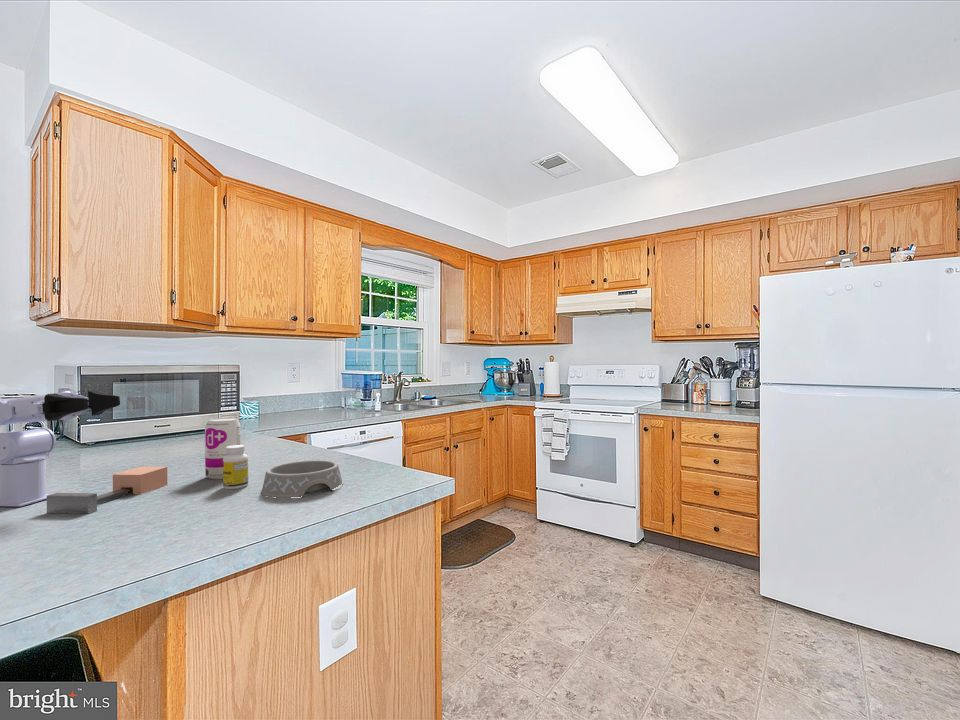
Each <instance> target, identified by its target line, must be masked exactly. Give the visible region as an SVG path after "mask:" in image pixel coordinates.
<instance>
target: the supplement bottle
mask: <svg viewBox="0 0 960 720" xmlns="http://www.w3.org/2000/svg"><path fill="white" fill-rule="evenodd" d="M245 450H246V447H245V445H244V444H241V445H232V446H227V447H226V453H227V456H225V457H224V458H223V479H222V481H223V482H222V485H223V487H222V488H223V489H226V490H238V489H241V488H242V489H243V488H245V487H247V486H249V456H248V455H247V454H246V453H245Z"/></svg>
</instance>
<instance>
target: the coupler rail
mask: <svg viewBox="0 0 960 720" xmlns="http://www.w3.org/2000/svg"><path fill="white" fill-rule="evenodd" d="M128 492H129V491H128V490H116V491H113V490H112V491H110V492H106V493H103V494H100V495H98V493H97V492H95V493H93V492H92V493H91V492H90V493H89V492H87V493H84V492H55V493H50V494H51V495H47V499H46V514H72V513H82V514H81V515H83V513H84V515H89V514H91V512H92V513H94V512H97V511H98V506H99V505H101V504H104V503H107V502H111V501H113V500H117V499H121V498H122V497H125V496H128ZM88 513H89V514H88Z"/></svg>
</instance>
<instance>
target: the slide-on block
mask: <svg viewBox="0 0 960 720" xmlns="http://www.w3.org/2000/svg"><path fill="white" fill-rule="evenodd" d="M168 485H169V484H168V466H139V467H135V468H132V469H128V470H125V471H121V472H117V473H113V474H112V491H116V490H128V492H130V491H132V494H133V495H142V494H145V493H148V492H150V491H154V490H156V489H157V490H158V489H159V488H162V487H165V486H168Z"/></svg>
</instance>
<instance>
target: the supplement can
mask: <svg viewBox="0 0 960 720" xmlns="http://www.w3.org/2000/svg"><path fill="white" fill-rule="evenodd" d="M241 429H242V427H241V422H240V420H239V419H238V418H237V417H236V418H235V417H224V418H212V419H208V420H207V422H206V424H205V425H204V459H205V460H204V464H205V465H204V469H205V470H204V473H205V474H204V475H205V477H207V478H208V479H210V480H223V458H224V457H225V456H227V453H226V447H227V446H232V445H242V444H241V443H242V439H241V437H242V436H241V434H242V433H241Z"/></svg>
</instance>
